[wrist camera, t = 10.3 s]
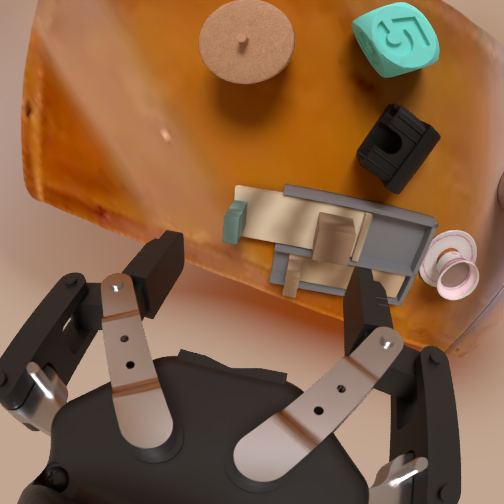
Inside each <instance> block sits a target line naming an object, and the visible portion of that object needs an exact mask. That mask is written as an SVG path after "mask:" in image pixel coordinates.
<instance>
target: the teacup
mask: <svg viewBox="0 0 504 504" xmlns="http://www.w3.org/2000/svg"><path fill="white" fill-rule="evenodd" d="M448 248H455V249H457V250H458V252H459V253H458V252H456V251H451V252H448V253H446V254H444V255H443V256H442V257H441V258H440V259H439V261H438V263H437V258H438V256H439V255H440V253H441V252H442V251H444V250H445V249H448ZM476 257H477V246H476V244H475V241H474V239H473V238H472V237H471V236H470V235H469V234H468V233H467V232H464V231H461V230H448V231H446V232H443V233H440V234H439V235H437V236H436V237H435V238H433V239H432V242H431V244H430V246H429V249H428V251H427V253H426V256H425V258H424V260H423V262H422V264H421V267H420V269H419V271H420V276H421V277H422V279H423V280H424V282H426V283H427V284H429V285H430V286H433V287H437V290H438V293H439V294H440V295H441V296H442V297H443V298H445V299H448V300H458V299H461V298H464V297H466V296H467V295H469V294H470V293H471V292H472V291H473V290H474V289H475V288H476V286H477V284H478V281H479V271H478V269H477V267H476V266H475V261H476Z"/></svg>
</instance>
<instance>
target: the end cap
mask: <svg viewBox="0 0 504 504" xmlns="http://www.w3.org/2000/svg"><path fill="white" fill-rule="evenodd" d="M439 140H440V135H439V133H438V132H437V131H436V130H435V129H434V128H433V127H432V126H431V125H429V124H427V123H425V122H423V121H421V120H419V119H418V118H417V117H415V116H414V115H413V114H412V113H410V112H409V111H408V110H407V109H406V108H404V107H403V106H402V105H401V106H399V105H398V104H389V105H388V106H387V107H386V109H385V110H384V112H383V113H382V115H381V116H380V118H379V119H378V121H377V122H376V124H375V125H374V127H373V128H372V129H371V131H370V132H369V134H368V135H367V137H366V138H365V140H364V141H363V143H362V144H361V145H360V147H359V148H358V150H357V157H358V160H359V161H360V165H361V166H363V167H364V168H366V169H367V170H369V171H370V172H371V173H373V174H374V175H376V176H377V177H378V178H380V179H381V181H382V183H383V185H384V186H385V188H387V189H388V190H390V191H391V192H393V193H395V194H399V193H400V192H401V191H402V190H403V188H404V187H405V186H406V185H407V183H408V182H409V181H410V179H411V178H412V177H413V175H414V174H415V173H416V171H417V170H418V169H419V167H420V166H421V165H422V163H423V162H424V161H425V159H426V158H427V156H428V155H429V154H430V152H431V151H432V149H433V148H434V147H435V145H436V144H437V142H438V141H439Z"/></svg>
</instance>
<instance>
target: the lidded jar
mask: <svg viewBox="0 0 504 504" xmlns="http://www.w3.org/2000/svg"><path fill="white" fill-rule="evenodd" d="M294 48H295V35H294V30H293V28H292V25H291V23H290V21H289V20H288V18H287V17H286V16H285V15H284V13H283V12H282V11H280V10H279V9H278V8H277V7H275V6H273V5H271V4H269V3H267V2H264V1H260V0H236V1H232V2H229V3H227V4H225V5H223V6H221V7H219V8H218V9H217V10H215V11H214V12H213V13H212V14H211V15H210V16H209V17H208V18H207V20H206V21H205V23H204V25H203V26H202V29H201V32H200V35H199V51H200V55H201V58H202V60H203V62H204V63H205V65H206V66H207V68H208V69H209V70H210V71H211V72H212V73H213V74H214V75H216V76H218V77H219V78H221V79H223V80H225V81H227V82H231V83H235V84H255V83H260V82H263V81H266V80H268V79H270V78H272V77H274V76H276V75H277V74H279V73H280V72H281V71H282V70H283V69H284V68H285V67H286V66H287V65H288V63H289V62H290V60H291V58H292V55H293V53H294Z"/></svg>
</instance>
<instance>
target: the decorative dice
mask: <svg viewBox="0 0 504 504" xmlns="http://www.w3.org/2000/svg"><path fill="white" fill-rule="evenodd" d="M352 29H353V32H354V35H355V37H356V39H357V42H358V44H359V45H360V47H361V49H362V51H363V53H364V54H365V56H366V58H367V59H368V61H369V62H370V64H371V65H372V67H373V68H374V69H375V71H376V72H377V73H378V74H379V75H380V76H382V77H384V78H390V77H394V76H398V75H401V74H404V73H408V72H411V71H414V70H417V69H420V68H423V67H426V66H428V65H431V64H433V63H435V62H437V60H438V57H439V52H440V49H439V43H438V40H437V37H436V34H435V32H434V30H433V28H432V26H431V25H430V23H429V22H428V20H427V19H426V17H425V16H424V15H423V14H422V13H421V12H420V11H419V10H418V9H416V8H415V7H413V6H411V5H409V4H407V3H405V2H400V3H394V4H390V5H387V6H384V7H381V8H378V9H375V10H373V11H370V12H368V13H366V14H364V15H362V16H360V17H358V18H357V19H355V20H354V21H353V23H352Z"/></svg>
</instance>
